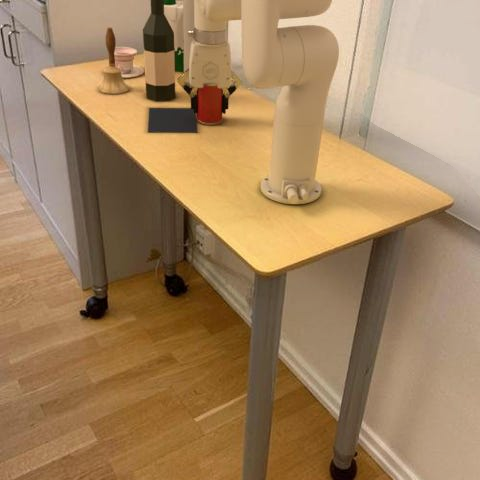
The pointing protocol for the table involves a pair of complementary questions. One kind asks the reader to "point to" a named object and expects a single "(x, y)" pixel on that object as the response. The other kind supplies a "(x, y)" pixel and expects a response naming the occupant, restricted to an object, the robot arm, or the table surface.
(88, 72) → the table surface
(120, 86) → the hand bell
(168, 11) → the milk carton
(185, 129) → the placemat
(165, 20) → the wine bottle
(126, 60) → the teacup
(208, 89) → the tin can
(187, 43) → the cylinder vase
